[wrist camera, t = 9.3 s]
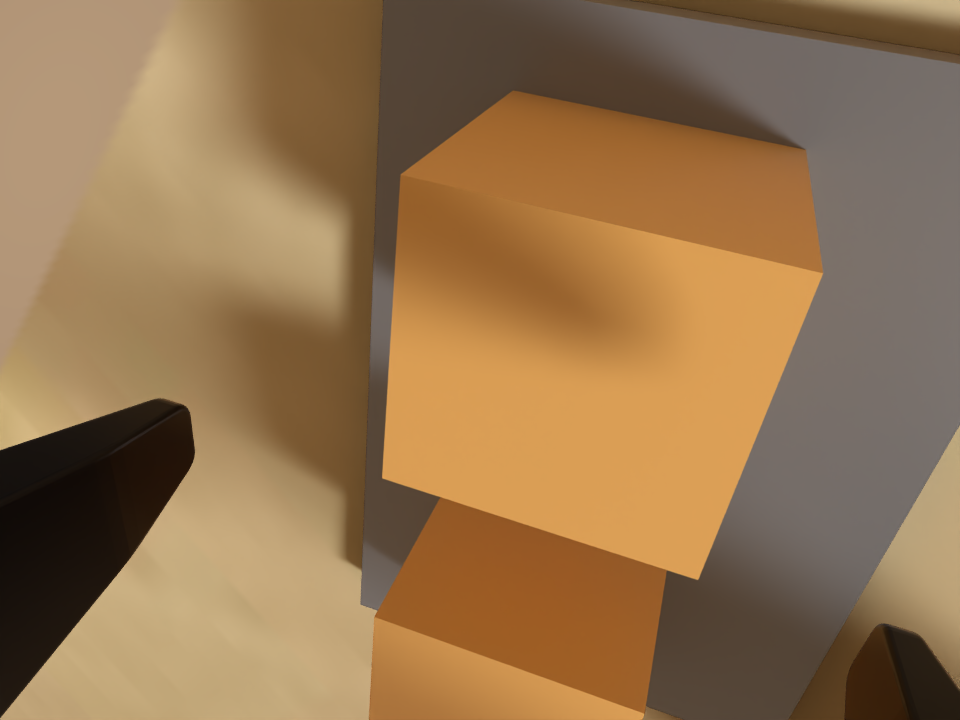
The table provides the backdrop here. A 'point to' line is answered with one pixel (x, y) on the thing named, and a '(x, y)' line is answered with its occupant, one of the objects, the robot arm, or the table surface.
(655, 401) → the matte orange cube
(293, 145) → the table surface
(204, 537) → the table surface
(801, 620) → the board
